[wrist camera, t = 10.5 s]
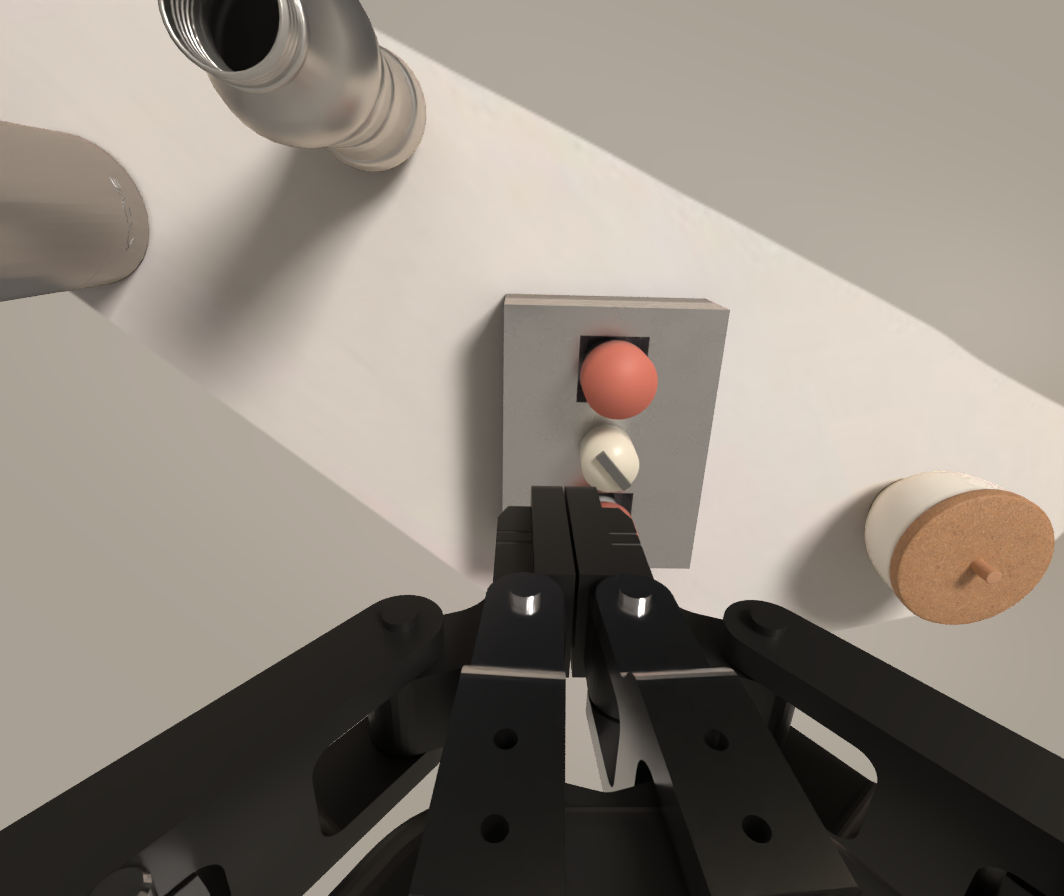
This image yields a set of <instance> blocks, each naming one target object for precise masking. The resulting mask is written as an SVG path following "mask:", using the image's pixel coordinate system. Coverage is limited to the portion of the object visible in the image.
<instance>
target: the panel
mask: <svg viewBox="0 0 1064 896" xmlns="http://www.w3.org/2000/svg"><path fill="white" fill-rule="evenodd" d="M729 313H730V310H729V309H727V308H725V307H722V306H720V305H718V304H716V303H714V302H711V301H709V300H707V299H689V298H649V297H610V296H570V295H531V294H506V297H505V302H504V369H503V497H502V512H503V511H504V510H505V509H506V508H507V507H508V506H530V501H531V486H562V487H563V492H564V486H591V485H590V484H589V483H588V482H587V481H586V480H585V478H584V476H583V472H582V467H581V460H580V452H579V448H580V443H581V441H582V439H583V437H584V436H585V434H586V433H587V432H588V431H590V430H591V429H592V428H594V427H597V426H600V425H614V426H617V427H619V428H621V429H623V430H624V431H625V432H626V433H627V434H628V436H629V437H630V439H631V441H632V444H633V446H634V448H635V451H636V453H637V456H638V459H639V471H638V474H637V476H636V478H635V479H634V481H633V482H632V483H631V487H629V488H628V489H626V490H625V491H623V490H620V491H616V492H602V491H599V490H597V491H598V493H613V495H614V497H615V500H616V503H617V504H619V505H621V506H622V507H624V508H625V509H626V510H627V511H628V512H629V514H630V515H631V517H632V519H633V522H634V525H635V527H636V530H637V533H638V536H639V540H640V542H641V546H642V548H643V551H644V553H645V556H646V559H647V562H648V564H649V567H650V568H687V569H689V568H690V562H691V555H692V549H693V542H694V536H695V530H696V523H697V517H698V511H699V504H700V498H701V491H702V485H703V479H704V472H705V466H706V459H707V453H708V447H709V440H710V434H711V428H712V421H713V415H714V408H715V402H716V396H717V389H718V383H719V376H720V370H721V364H722V357H723V351H724V345H725V338H726V332H727V325H728V319H729ZM602 339H614V340H619V341H626V342H629V343H632V344H634V345H636V346H637V347H638V348H640V349H641V350H642V351H643V352H644V353H645V355H646V356H647V357H648V358H649V359H650V360H651V362H652V363H653V365H654V367H655V369H656V372H657V377H658V386H657V391H656V394H655V396H654V398H653V400H652V402H651V403H650V404H649V406H648V407H647V408H646V409H645V410H643V411H642V412H641V413H639V414H638V415H636V416H633V417H631V418H627V419H621V420H615V419H609V418H606V417H603V416H601V415H599V414H598V413H596V412H595V411H594V410H593V409H592V408H591V407H590V405H589V404H588V402H587V400H586V398H585V395H584V392H583V389H582V386H581V382H580V372H581V367H582V364H583V362H584V360H585V356H586V353H587V351H588V349H589V348H590V346H591V345H592V344H594V343H595V342H597V341H599V340H602Z"/></svg>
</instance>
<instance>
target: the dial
mask: <svg viewBox="0 0 1064 896" xmlns="http://www.w3.org/2000/svg"><path fill="white" fill-rule="evenodd" d="M579 452H580V460H581V467H582V472H583V476H584V478H585V480H586V481H587V482H588V483H589V484H590V485H591V486H592V487H596V488H597V490H599V491H602V492H616V491H620V490H623V491H625V490H626V489H628V488H629V487H631V483H632V482H633V481H634V479H635V478H636V476H637V474H638V471H639V459H638V456H637V453H636V451H635V448H634V446H633V444H632V441H631V439H630V437H629V436H628V434H627V433H626V432H625V431H624V430H623V429H621V428H619V427H617V426H614V425H600V426H597V427H594V428H592V429H591V430H590V431H588V432H587V433H586V434H585V436H584V437H583V439H582V441H581V443H580V448H579Z"/></svg>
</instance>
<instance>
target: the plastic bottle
mask: <svg viewBox="0 0 1064 896" xmlns="http://www.w3.org/2000/svg"><path fill="white" fill-rule="evenodd" d="M158 5H159V11H160V14H161V17H162V20H163V23H164V25H165V27H166V29H167V31H168V33H169V35H170V37H171V38H172V40H173V41H174V43H175V44H176V45H177V47H178V48H179V49H180V50H181V51H182V53H183V54H184V55H185V56H186V57H187V58H188V59H190V60H191V61H192V62H193V63H194V64H196V65H197V66H199V67H200V68H201V69H203V70H204V71H206V72H207V74H208V77H209V79H210V81H211V83H212V85H213V87H214V88H215V90H216V91H217V92H218V94H219V95H220V97H221V98H222V99H223V101H224V102H225V104H226V105H227V106H228V108H229V109H230V110H231V111H232V112H233V113H234V114H235V115H236V116H237V117H238V118H239V119H240V120H241V122H242V123H243V124H245V125H246V126H247V127H249V128H250V129H252V130H253V131H254V132H256V133H257V134H259V135H260V136H263V137H265V138H267V139H269V140H271V141H273V142H275V143H279V144H283V145H287V146H290V147H298V148H320V147H325V148H326V149H327V150H328V151H329V152H330V153H331V154H333V155H334V156H335V157H336V158H338V159H339V160H340V161H342V162H343V163H345V164H347V165H349V166H351V167H353V168H356V169H360V170H364V171H383V170H388V169H390V168H393V167H396V166H398V165H399V164H401V163H402V162H404V161H405V160H407V159H408V158H409V157H410V156H411V155H412V154H413V153H414V152H415V150H416V149H417V147H418V145H419V144H420V142H421V139H422V137H423V134H424V129H425V123H426V104H425V99H424V94H423V91H422V89H421V86H420V84H419V81H418V80H417V78H416V76H415V75H414V73H413V71H412V70H411V69H410V68H409V67H408V65H407V64H406V63H405V62H404V61H403V60H402V59H401V58H399V57H398V56H397V55H396V54H394V53H393V52H391V51H389V50H387V49H385V48H384V47H382V46H380V45H379V44H378V41H377V37H376V34H375V32H374V29H373V27H372V24H371V22H370V19H369V18H368V16H367V14H366V12H365V10H364V8H363V7H362V5H361V3H360V2H359V0H158Z"/></svg>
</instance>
